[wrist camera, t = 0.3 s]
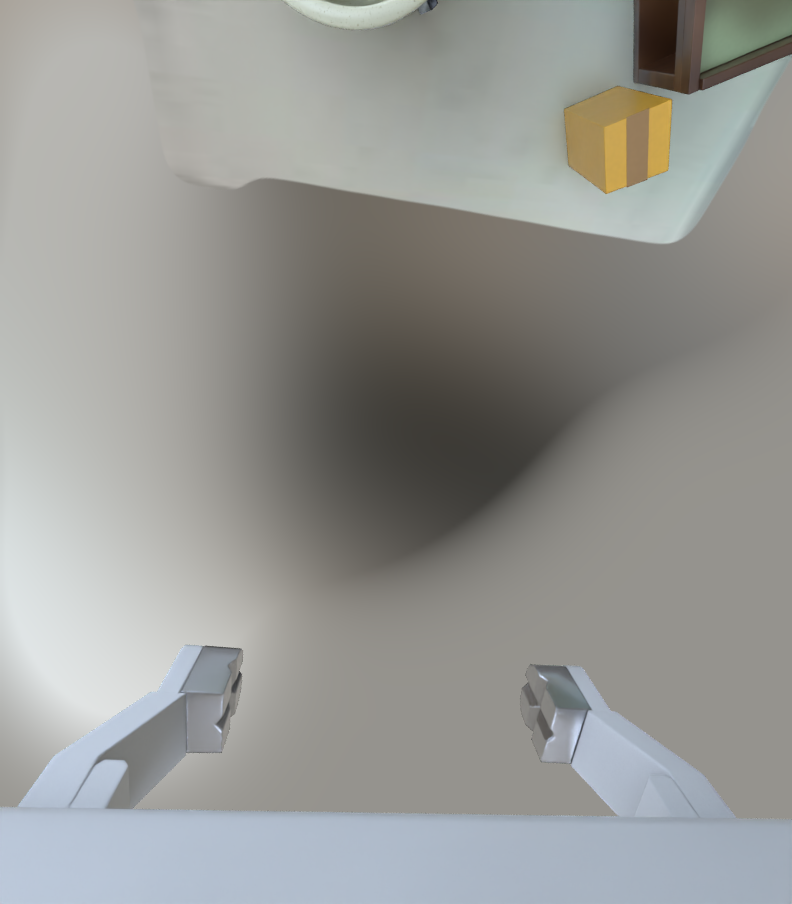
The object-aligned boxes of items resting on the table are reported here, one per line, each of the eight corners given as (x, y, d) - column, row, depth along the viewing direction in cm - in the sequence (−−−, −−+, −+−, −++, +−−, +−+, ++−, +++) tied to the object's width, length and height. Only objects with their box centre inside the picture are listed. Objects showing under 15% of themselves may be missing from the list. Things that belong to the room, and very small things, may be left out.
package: (563, 108, 46) (604, 126, 38) (618, 84, 45) (673, 98, 36) (568, 166, 50) (606, 195, 41) (619, 145, 49) (669, 171, 40)
